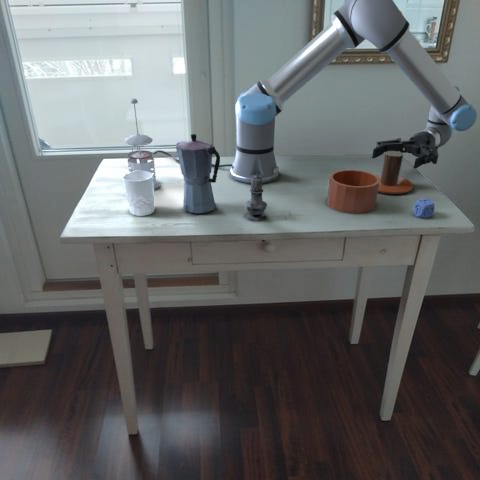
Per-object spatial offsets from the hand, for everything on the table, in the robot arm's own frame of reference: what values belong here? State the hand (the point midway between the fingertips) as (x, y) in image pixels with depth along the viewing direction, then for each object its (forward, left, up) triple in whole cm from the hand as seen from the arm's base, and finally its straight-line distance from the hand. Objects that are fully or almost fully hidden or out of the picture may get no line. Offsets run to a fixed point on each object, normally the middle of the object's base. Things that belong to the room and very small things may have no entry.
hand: (394, 158), depth 145 cm
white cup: (-43, -63, -9) cm, 77 cm away
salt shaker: (-17, -45, -9) cm, 49 cm away
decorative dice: (+17, -14, -9) cm, 24 cm away
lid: (0, -1, -8) cm, 8 cm away
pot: (-2, -20, -8) cm, 22 cm away
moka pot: (-32, -51, -9) cm, 61 cm away
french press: (-58, -50, -9) cm, 77 cm away
